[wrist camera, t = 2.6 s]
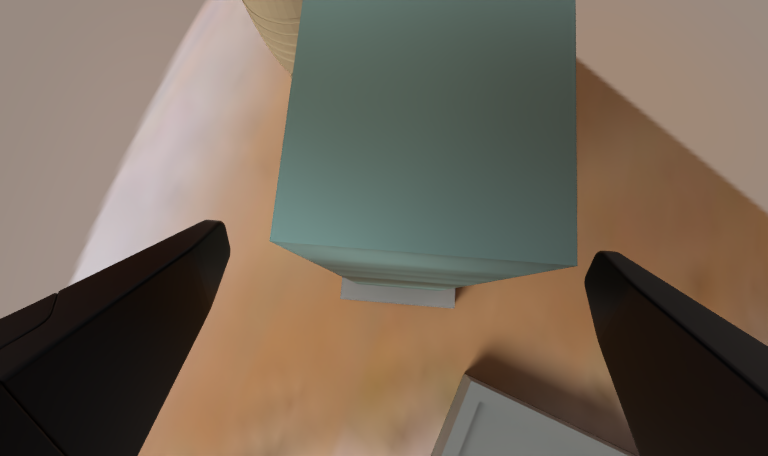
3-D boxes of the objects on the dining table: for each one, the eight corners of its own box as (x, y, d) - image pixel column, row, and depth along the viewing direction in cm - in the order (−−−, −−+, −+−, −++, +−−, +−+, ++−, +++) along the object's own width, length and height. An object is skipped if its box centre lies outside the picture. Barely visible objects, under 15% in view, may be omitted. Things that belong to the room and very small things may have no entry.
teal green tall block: (450, 307, 18) (640, 333, 4) (343, 298, 18) (201, 296, 4) (455, 203, 19) (627, -48, 5) (353, 195, 19) (262, -69, 5)
